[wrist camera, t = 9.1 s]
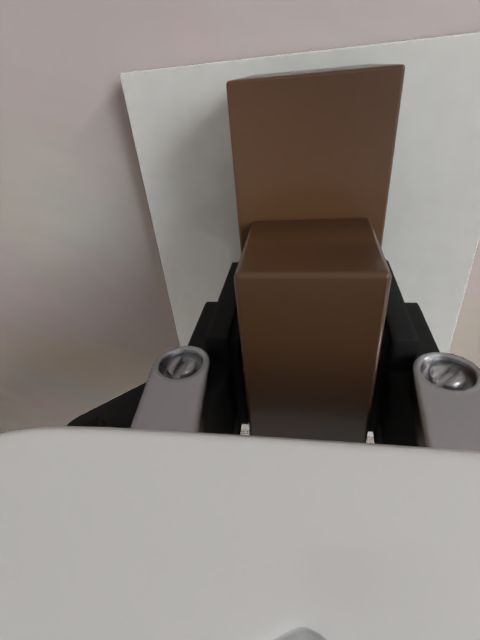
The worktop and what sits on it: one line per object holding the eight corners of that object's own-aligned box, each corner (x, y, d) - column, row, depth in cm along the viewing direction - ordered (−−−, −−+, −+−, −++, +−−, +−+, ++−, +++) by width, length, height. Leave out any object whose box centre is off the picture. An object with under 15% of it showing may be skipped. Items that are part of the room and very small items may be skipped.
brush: (250, 75, 10) (188, 89, 5) (373, 63, 9) (455, 65, 4) (269, 406, 16) (252, 561, 11) (341, 409, 16) (357, 574, 11)
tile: (132, 72, 11) (117, 72, 10) (518, 27, 9) (539, 24, 8) (202, 411, 19) (197, 427, 18) (419, 422, 17) (425, 440, 16)
